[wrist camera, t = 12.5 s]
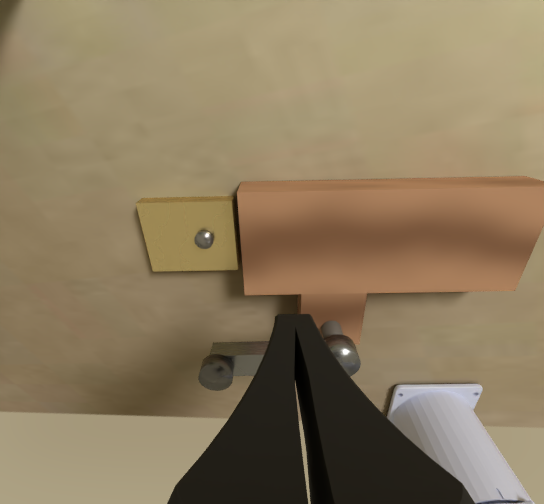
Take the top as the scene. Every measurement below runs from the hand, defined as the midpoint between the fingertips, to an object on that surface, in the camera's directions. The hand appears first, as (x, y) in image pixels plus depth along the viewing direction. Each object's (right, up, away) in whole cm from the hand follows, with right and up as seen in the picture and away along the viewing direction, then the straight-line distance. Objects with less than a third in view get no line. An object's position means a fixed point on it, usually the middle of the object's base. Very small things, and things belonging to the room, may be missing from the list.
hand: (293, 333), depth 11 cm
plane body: (+6, +3, +10) cm, 12 cm away
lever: (0, -3, +8) cm, 8 cm away
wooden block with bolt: (-6, +5, +9) cm, 12 cm away
